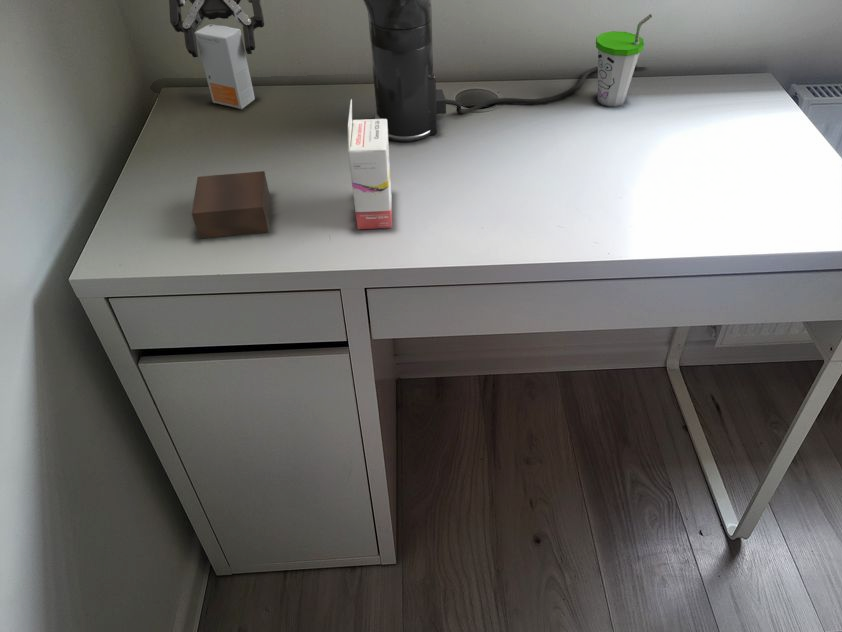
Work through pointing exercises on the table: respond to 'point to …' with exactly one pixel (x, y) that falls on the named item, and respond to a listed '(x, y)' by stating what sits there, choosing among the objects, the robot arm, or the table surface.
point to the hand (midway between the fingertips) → (221, 53)
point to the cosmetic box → (225, 65)
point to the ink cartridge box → (370, 171)
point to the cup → (617, 63)
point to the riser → (231, 204)
